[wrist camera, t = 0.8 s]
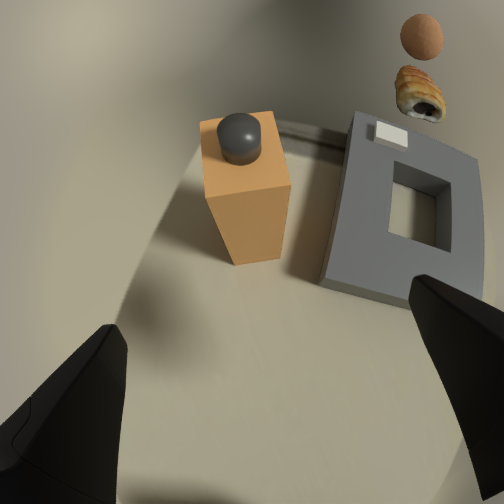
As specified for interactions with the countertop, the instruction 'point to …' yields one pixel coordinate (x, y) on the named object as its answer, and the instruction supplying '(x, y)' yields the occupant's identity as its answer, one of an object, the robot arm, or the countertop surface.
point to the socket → (378, 214)
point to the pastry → (419, 95)
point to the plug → (246, 184)
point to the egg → (422, 37)
